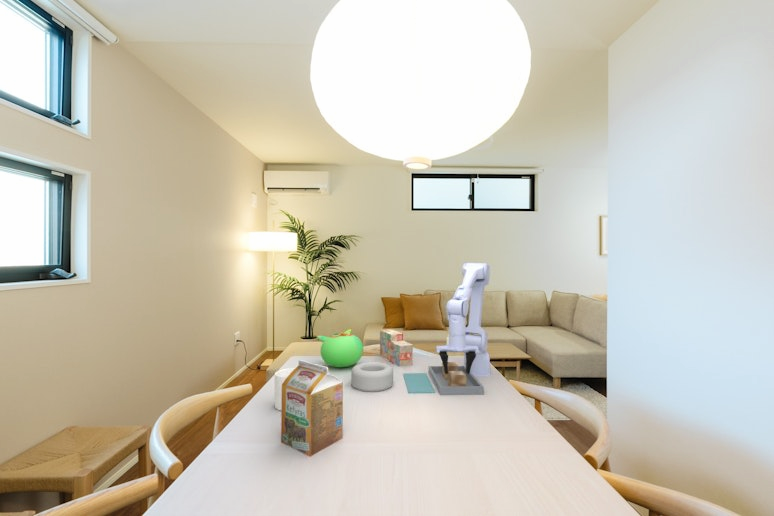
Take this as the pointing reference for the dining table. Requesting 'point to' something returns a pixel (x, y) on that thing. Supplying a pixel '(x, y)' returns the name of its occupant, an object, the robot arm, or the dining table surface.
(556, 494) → the dining table surface
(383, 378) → the fat ring
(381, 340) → the stack of blocks
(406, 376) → the teal board
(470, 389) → the tray
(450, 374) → the labelled box
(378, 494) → the dining table surface
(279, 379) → the mug
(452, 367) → the plain box
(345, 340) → the toy bird
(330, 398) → the milk carton
